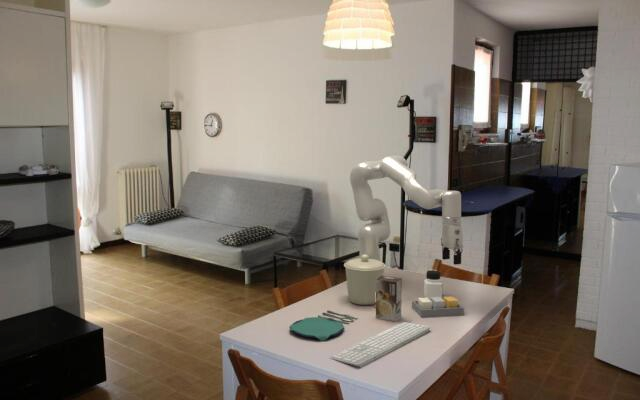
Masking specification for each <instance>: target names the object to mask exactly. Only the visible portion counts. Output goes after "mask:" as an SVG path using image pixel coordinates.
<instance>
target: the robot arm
mask: <svg viewBox="0 0 640 400" xmlns="http://www.w3.org/2000/svg"><path fill="white" fill-rule="evenodd" d="M385 178H389V179H390V180H391V181H393V182H394V183H395V184H396V185H398V186H400V187H401V188H402V189H403V191H404V193H405V195H406V197H407V198H408V199H410V200H411V201H412V202H413V203H415V204H416V205H418V206H419V207H421V208H423V209H425V210H431V209H435V208H442V210H441V213H442V214H441V217H442V218H441V225H442V228H441V229H442V230H441V237H440V241H441V250H442V253H441V254H442V256H441V257H442V260H450V259H451V250H452V251H453V253H454V254H453V265H456V266H457V265H462V255H463V251H464V243H463V242H464V239H463V236H464V235H463V228H462V227H463V226H462V193H461V192H460V191H458V190H444V189H440V188H439V189H438V188H435V189H430V190H428V189H426V188H424V187H423V186H421V185H420V184H419V183H418V182H417V180H416V179H417V173H416V172H415V171H414V170H413V169H412V168H409V167H408V162H407V160H406V159H405V157H403V156H401V155H389V156H385V157H383V158H382V159H378V160H369V161H368V160H367V161H362V162H359V163H357V164H356V165H354V166H353V168H352V169H351V171H350V175H349V179H350V186H351V189H352V193H353V200H354V203H355V204H354V205H355V210H356V214H357V218H359V220H360V221H363V222H367V221H370V222H369V223H365V224H363V225H362V226H360V227H359V229H358V232H357V240H358V249H359V258H361V256H362V255H363V254H366V255H368V256H369V259H376V260H379V261H381V249H380V247H379V243H380V242H384V241H387V240H388V238H390V234H391V225H390V219H389V215H388V213H389V212H388V208H387V206H386V204H385V202H384V201H383V200H382V199H380V198H374V196H373V191H372V186H370V184H369V183H368V181H371V180H378V179H379V180H380V179H385Z"/></svg>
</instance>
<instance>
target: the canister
mask: <svg viewBox="0 0 640 400" xmlns="http://www.w3.org/2000/svg"><path fill="white" fill-rule="evenodd" d="M343 267H344V268H345V278H346V286H347V294H348V298H349V300H350V302H351V303H353V304H355V305H359V306H369V305H374V304H375V305H376V303H375V292H376V279H378V278H379V277H380V276H384V272H385V268H386V267H387V265H386V264H385V263H384V262H382V261H381V260H380V261H379V260H376V259H369V256H368V255H366V254H363V255H362V256H361V258H360V257H358V258H352V259H350V260H348V261H347V262H345V263H344V264H343Z"/></svg>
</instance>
